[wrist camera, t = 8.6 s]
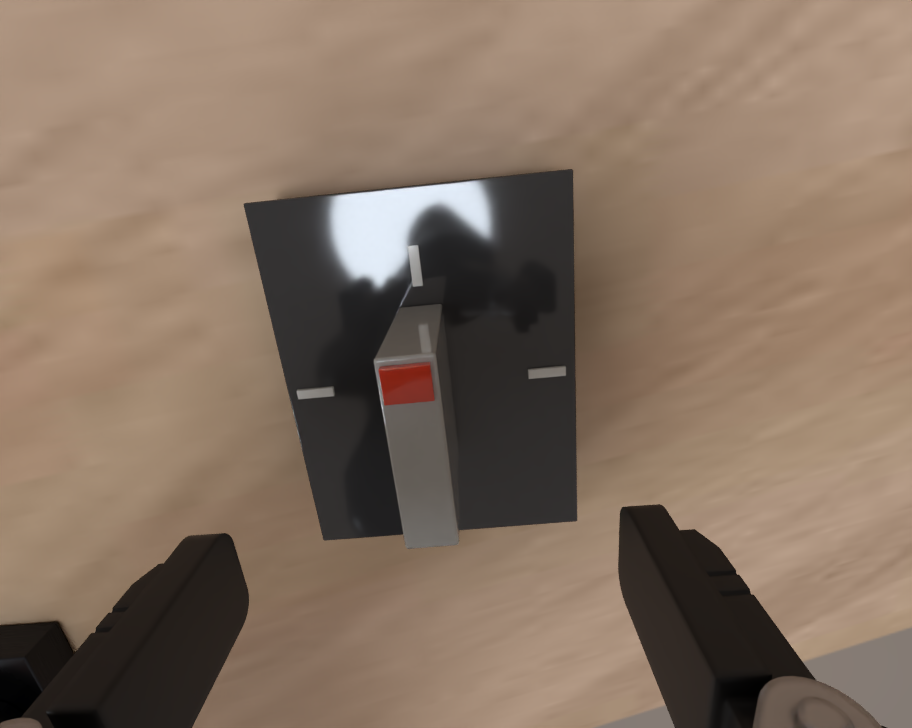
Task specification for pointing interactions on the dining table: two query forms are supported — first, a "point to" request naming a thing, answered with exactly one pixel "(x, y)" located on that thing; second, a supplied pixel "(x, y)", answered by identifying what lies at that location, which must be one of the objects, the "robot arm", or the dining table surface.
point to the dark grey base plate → (467, 333)
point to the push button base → (28, 664)
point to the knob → (421, 425)
